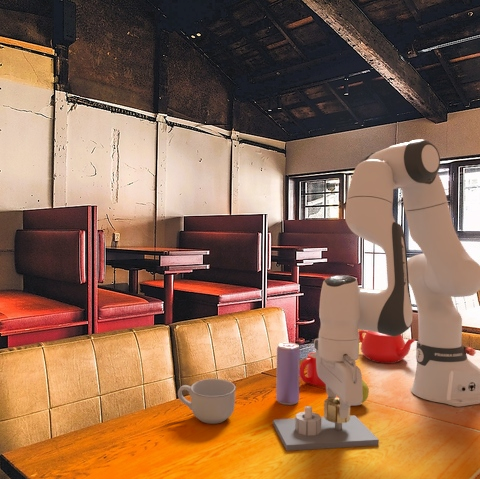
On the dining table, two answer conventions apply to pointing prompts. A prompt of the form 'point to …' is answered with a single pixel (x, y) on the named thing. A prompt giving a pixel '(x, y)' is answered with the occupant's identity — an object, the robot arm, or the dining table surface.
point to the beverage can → (287, 373)
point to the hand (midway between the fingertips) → (337, 410)
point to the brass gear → (334, 411)
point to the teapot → (384, 347)
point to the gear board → (322, 432)
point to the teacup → (210, 399)
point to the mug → (310, 370)
